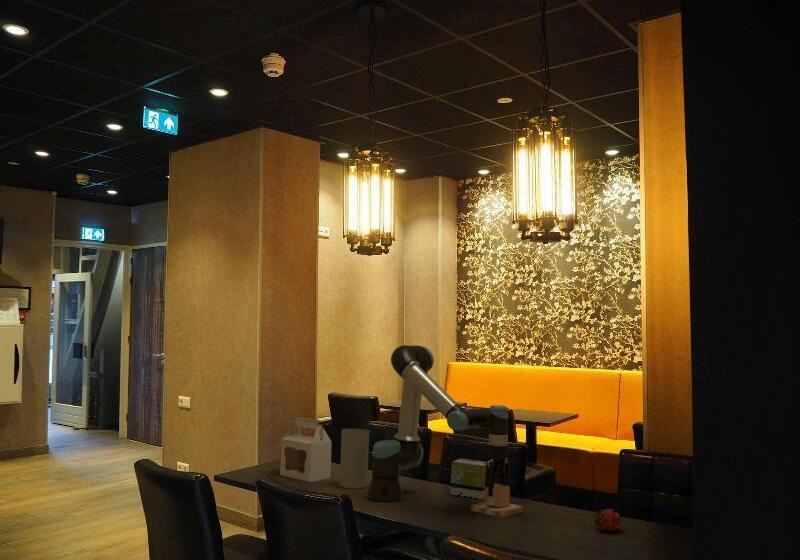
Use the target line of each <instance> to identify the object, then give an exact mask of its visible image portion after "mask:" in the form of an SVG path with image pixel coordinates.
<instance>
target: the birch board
mask: <svg viewBox="0 0 800 560" xmlns="http://www.w3.org/2000/svg"><path fill="white" fill-rule="evenodd" d="M524 509H525V506H523V505H518V504H513V503H510V502H509V505H506V506H502V507H496V506H492V505H487V504H485V501H482V502H480V503H479V502H477V503H474V504H471V505H470V511H472V512H476V513H479V514H484V515H489V516H492V517H493V516H494V517H497V518H502V519H503V518H504V519H505V518H507V517H510V515H511V516H514V515H517V514H516V513H518V514H520V513H519V512H521V513H523V512H522V511H524V512H525V510H524ZM513 514H514V515H513Z"/></svg>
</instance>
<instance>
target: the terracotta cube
mask: <svg viewBox="0 0 800 560" xmlns="http://www.w3.org/2000/svg"><path fill="white" fill-rule="evenodd" d="M494 488H495V505H492V506H496V507H502V506H506V505H509V503H510V501H511V500H510V498H511V497H510V493H511V491H510V490H511V487H510V485H509V486H508V485H507V486H504V485H502V484H499V483H495V485H494ZM484 502H485V504H487V505H489V504H488V487H486V486H485V498H484Z"/></svg>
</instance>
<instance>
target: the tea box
mask: <svg viewBox="0 0 800 560" xmlns="http://www.w3.org/2000/svg"><path fill="white" fill-rule="evenodd" d="M450 469H451V471H450V495H451V494H452V495H451V496H457V495H460V497H464V496H467V497H466V498H469V497H472V498H471V499H475V498H478V499H477V500H480V499H482V500H484V499H485V498H484V497H485V476H486V461H482V460H473V459H467V458H458V459H456V460H453V461H451V468H450ZM483 498H484V499H483Z"/></svg>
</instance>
